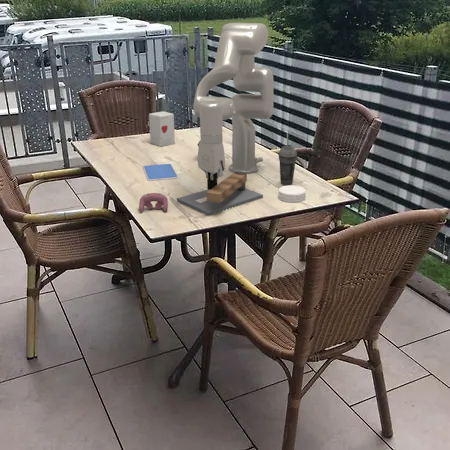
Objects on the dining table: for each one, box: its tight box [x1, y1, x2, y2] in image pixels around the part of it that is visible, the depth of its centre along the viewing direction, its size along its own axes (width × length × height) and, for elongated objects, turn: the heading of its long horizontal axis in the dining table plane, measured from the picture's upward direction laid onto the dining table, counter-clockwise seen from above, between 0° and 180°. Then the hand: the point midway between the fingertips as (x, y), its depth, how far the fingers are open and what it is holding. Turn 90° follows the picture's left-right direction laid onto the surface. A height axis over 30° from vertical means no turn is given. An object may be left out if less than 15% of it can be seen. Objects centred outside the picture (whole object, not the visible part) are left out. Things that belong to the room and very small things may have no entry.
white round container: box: [277, 184, 307, 203], centre depth 204 cm, size 10×10×4 cm
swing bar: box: [207, 171, 248, 203], centre depth 198 cm, size 26×5×3 cm, turn 156°
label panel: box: [176, 183, 264, 216], centre depth 202 cm, size 26×18×4 cm
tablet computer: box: [142, 163, 179, 182], centre depth 232 cm, size 19×13×1 cm, turn 14°
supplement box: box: [148, 110, 176, 147], centre depth 273 cm, size 9×9×15 cm
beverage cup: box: [278, 132, 298, 186], centre depth 215 cm, size 7×7×20 cm
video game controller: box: [138, 192, 169, 214], centre depth 193 cm, size 10×5×7 cm, turn 93°
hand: (212, 189), depth 197 cm, fingers closed
